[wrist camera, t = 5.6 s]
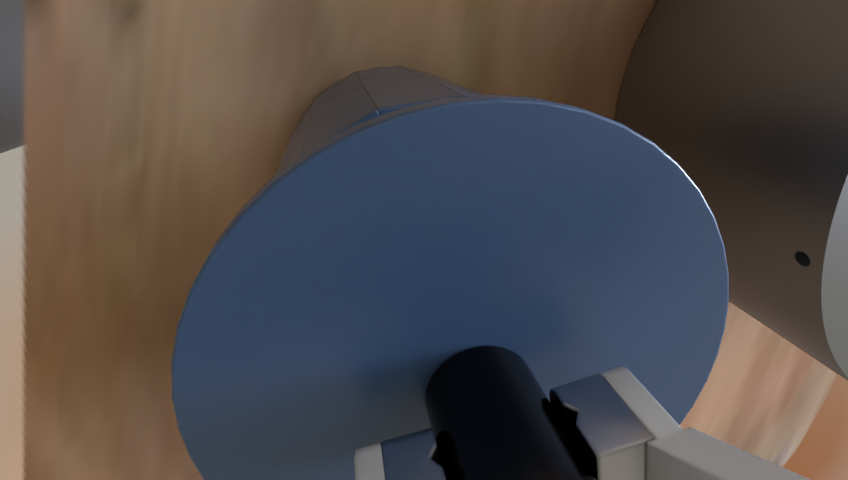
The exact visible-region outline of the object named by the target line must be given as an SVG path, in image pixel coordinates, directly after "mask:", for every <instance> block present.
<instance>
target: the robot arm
mask: <svg viewBox="0 0 848 480" xmlns="http://www.w3.org/2000/svg"><path fill="white" fill-rule="evenodd" d="M549 398H550V403H551V404H552V406H553V408H554V409H555V411H556V413H557V414H558V416H559V418H560V419H561V421H562V423H563V424H564V426H565V428H566V429H567V431H568V432H569V434H570V436H571V437H572V439H573V441H574V442H575V444H576V446H577V447H578V449H579V451H580V452H581V454H582V456H583V457H584V459H585V461H586V462H587V464H588V465H589V467H590V469H591V470H592V472H593V474H594V475H595V477H596V479H597V480H810V479H807V478H805V477H803V476H801V475H798V474H796V473H794V472H792V471H789V470H787V469H785V468H783V467H780V466H778V465H776V464H773V463H771V462H769V461H767V460H764V459H762V458H760V457H757V456H755V455H753V454H751V453H748V452H746V451H744V450H741V449H739V448H737V447H735V446H732V445H730V444H728V443H725V442H723V441H721V440H719V439H716V438H714V437H712V436H709V435H707V434H705V433H703V432H700V431H698V430H696V429H693V428H688V429H684V430H683V429H682V428H681V427H680V425H679V424H678V423H677V422H676V421H675V420H674V419H673V418H672V417H671V416H670V415H669V413H668V412H667V411H666V410H665V409H664V408H663V407H662V406H661V405H660V404H659V403H658V401H657V400H656V399H655V398H654V397H653V396H652V395H651V394H650V393H649V392H648V391H647V389H646V388H645V387H644V386H643V385H642V384H641V383H640V382H639V381H638V380H637V378H636V377H635V376H634V375H633V374H632V373H631V372H630V371H629V370H628V369H627V368H625V367H623V366H621V367H618V368H615V369H612V370H609V371H605V372H602V373H599V374H598V375H597V374H595V375H592V376H589V377H586V378H583V379H580V380H577V381H574V382H571V383H567V384H564V385H561V386H558V387H555V388H552V389H550V393H549ZM354 463H355V480H446V477H445V474H444V471H443V464H442V461H441V457H440V454H439V450H438V446H437V443H436V439H435V436H434V432H433V429H432V427H431V428H428V429H424V430H421V431H417V432H414V433H410V434H407V435H403V436H400V437H396V438H393V439H389V440H386V441H382V442H380V443H377V444H373V445H370V446H366V447H363V448H360V449H356V451H355V457H354Z"/></svg>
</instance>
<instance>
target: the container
mask: <svg viewBox="0 0 848 480" xmlns="http://www.w3.org/2000/svg"><path fill="white" fill-rule="evenodd" d="M616 121H617V122H619V123H622V124H623V125H625V126H627V127H629V128H630V129H632V130H634V131H635V132H637V133H639V134H640V135H642V136H644V137H645V138H647V139H649V140H651V141H652V142H654V143H655V144H656V145H657V146H658V147H659V148H661V149H662V150H663V151H664V152H665V153H666V154H668V155H669V156H670V157H671V158H672V159H673V160H675V161H676V162H677V163H678V164H679V165H680V166H681V168H682V169H683V170H684V171H685V172H686V174H687V175H688V176H689V177H690V179H691V180H692V181H693V182H694V183H695V185H696V186H697V187H698V188H699V190H700V191H701V193H702V195H703V197H704V199H705V201H706V202H707V204H708V206H709V208H710V210H711V211H712V213H713V215H714V217H715V220H716V223H717V226H718V229H719V232H720V235H721V237H722V240H723V243H724V248H725V254H726V261H727V267H728V273H729V302H731V303H732V304H734V305H735V306H737V307H738V308H740V309H741V310H743V311H744V312H746V313H747V314H749V315H750V316H752V317H753V318H755V319H756V320H758V321H759V322H761V323H762V324H764V325H765V326H767V327H768V328H770V329H771V330H773V331H774V332H776V333H777V334H779V335H780V336H782V337H783V338H785V339H786V340H788V341H789V342H791V343H792V344H794V345H795V346H797V347H798V348H800V349H801V350H803V351H804V352H806V353H807V354H809V355H810V356H812V357H813V358H815V359H816V360H818V361H819V362H821V363H822V364H824V365H825V366H827V367H828V368H830V369H831V370H833V371H834V372H836V373H837V374H839V375H840V376H842V377H843V378H845V379H846V380H848V0H658V1H657V3H656V4H655V6H654V8H653V10H652V12H651V13H650V15H649V17H648V19H647V21H646V23H645V25H644V27H643V29H642V31H641V34H640V36H639V38H638V41H637V43H636V45H635V48H634V50H633V53H632V56H631V58H630V61H629V64H628V67H627V70H626V73H625V77H624V80H623V84H622V88H621V92H620V97H619V101H618V107H617V113H616Z"/></svg>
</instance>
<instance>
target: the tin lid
mask: <svg viewBox="0 0 848 480" xmlns="http://www.w3.org/2000/svg"><path fill="white" fill-rule="evenodd" d="M728 302H729V273H728V267H727V261H726V254H725V248H724V243H723V240H722V237H721V235H720V232H719V229H718V226H717V223H716V220H715V217H714V215H713V213H712V211H711V210H710V208H709V206H708V204H707V202H706V201H705V199H704V197H703V195H702V193H701V191H700V190H699V188H698V187H697V186H696V185H695V183H694V182H693V181H692V180H691V179H690V177H689V176H688V175H687V174H686V172H685V171H684V170H683V169H682V168H681V166H680V165H679V164H678V163H677V162H676V161H675V160H673V159H672V158H671V157H670V156H669V155H668V154H666V153H665V152H664V151H663V150H662V149H661V148H659V147H658V146H657V145H656V144H655V143H654V142H652V141H651V140H649V139H647V138H645V137H644V136H642V135H640V134H639V133H637V132H635V131H634V130H632V129H630V128H629V127H627V126H625V125H623V124H622V123H619V122H617V121H614V120H612V119H609V118H606V117H604V116H601V115H599V114H596V113H593V112H591V111H588V110H585V109H582V108H579V107H575V106H572V105H567V104H562V103H557V102H553V101H548V100H543V99H538V98H534V97H521V96H504V95H479V96H467V97H455V98H444V99H440V100H435V101H431V102H426V103H422V104H418V105H413V106H409V107H404V108H400V109H397V110H394V111H391V112H389V113H386V114H383V115H381V116H378V117H375V118H373V119H370V120H367V121H365V122H362V123H359V124H357V125H354V126H352V127H350V128H349V129H347V130H345V131H343V132H341V133H339V134H337V135H336V136H334V137H332V138H330V139H328V140H326V141H324V142H323V143H321V144H319V145H317V146H315V147H313V148H312V149H310V150H309V151H308V152H306V153H305V154H304V155H302V156H301V157H299V158H298V159H297V160H295V161H294V162H293V163H291V164H290V165H288V166H287V167H286V168H284V169H283V170H282V171H280V172H279V173H277V174H276V175H275V176H274V177H273V178H272V179H271V180H270V181H269V182H268V183H267V184H265V185H264V186H263V187H262V188H261V189H260V190H259V191H258V192H257V193H256V194H255V195H254V196H253V197H252V198H251V199H250V200H249V201H248V202H247V203H246V204H245V205H244V206H243V207H242V208H241V210H240V211H239V212H238V213H237V215H236V216H235V217H234V219H233V220H232V221H231V222H230V224H229V225H228V226H227V228H226V229H225V230H224V232H223V233H222V234H221V235H220V237H219V238H218V239H217V241H216V243H215V245H214V246H213V248H212V250H211V252H210V254H209V255H208V257H207V259H206V261H205V263H204V264H203V266H202V268H201V270H200V272H199V274H198V275H197V277H196V279H195V281H194V283H193V284H192V286H191V288H190V291H189V294H188V297H187V299H186V302H185V305H184V308H183V311H182V314H181V316H180V319H179V322H178V325H177V331H176V336H175V342H174V348H173V354H172V360H171V375H172V399H173V404H174V409H175V414H176V419H177V424H178V429H179V431H180V434H181V436H182V439H183V441H184V444H185V446H186V449H187V451H188V454H189V456H190V458H191V460H192V461H193V463H194V465H195V466H196V468H197V470H198V471H199V473H200V474H201V476H202V478H203V479H204V480H355V463H354V457H355V451H356V449H360V448H363V447H366V446H370V445H373V444H377V443H380V442H382V441H386V440H389V439H393V438H396V437H400V436H403V435H407V434H410V433H414V432H417V431H421V430H424V429H428V428H431V427H432V429H433V432H434V436H435V439H436V443H437V446H438V450H439V454H440V457H441V461H442V464H443V471H444V474H445V477H446V480H597V479H596V477H595V475H594V474H593V472H592V470H591V469H590V467H589V465H588V464H587V462H586V461H585V459H584V457H583V456H582V454H581V452H580V451H579V449H578V447H577V446H576V444H575V442H574V441H573V439H572V437H571V436H570V434H569V432H568V431H567V429H566V428H565V426H564V424H563V423H562V421H561V419H560V418H559V416H558V414H557V413H556V411H555V409H554V408H553V406H552V404H551V403H550V398H549V393H550V389H552V388H555V387H558V386H561V385H564V384H567V383H571V382H574V381H577V380H580V379H583V378H586V377H589V376H592V375H595V374H597V375H598V374H599V373H602V372H605V371H609V370H612V369H615V368H618V367H621V366H623V367H625V368H627V369H628V370H629V371H630V372H631V373H632V374H633V375H634V376H635V377H636V378H637V380H638V381H639V382H640V383H641V384H642V385H643V386H644V387H645V388H646V389H647V391H648V392H649V393H650V394H651V395H652V396H653V397H654V398H655V399H656V400H657V401H658V403H659V404H660V405H661V406H662V407H663V408H664V409H665V410H666V411H667V412H668V413H669V415H670V416H671V417H672V418H673V419H674V420H675V421H676V422H677V423H678V424H679V425H680V424H681V423H682V421H683V420H684V418H685V417H686V415H687V414H688V412H689V411H690V409H691V408H692V407H693V405H694V403H695V401H696V400H697V398H698V396H699V394H700V392H701V390H702V389H703V387H704V385H705V383H706V381H707V379H708V376H709V374H710V372H711V369H712V367H713V364H714V362H715V360H716V357H717V354H718V351H719V347H720V344H721V340H722V336H723V333H724V329H725V323H726V316H727V309H728Z"/></svg>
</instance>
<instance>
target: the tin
mask: <svg viewBox="0 0 848 480" xmlns="http://www.w3.org/2000/svg"><path fill="white" fill-rule="evenodd" d="M479 95H484V94H482V93H479V92H477V91H474V90H471V89H469V88H466V87H464V86H461V85H458V84H456V83H453V82H451V81H448V80H445V79H443V78H440V77H437V76H434V75H430V74H427V73H423V72H420V71H417V70H413V69H409V68H406V67H402V66H391V67H381V68H373V69H368V70H363V71H356V72H353V73H352V74H350V75H349V76H347V77H346V78H344V79H342V80H340V81H338V82H336V83H335V84H333V85H332V86H331V87H329V88H328V89H327V90H325V91H323V92H322V93H320V94H319V95H318V96H317V97H316V98H315V100H314V101H313V103H312V105H311V106H310V108H309V109H308V110H307V112H306V113H305V115H304V117H303V118H302V120H301V121H300V123H299V124H298V126H297V127H296V129H295V130H294V133H293V135H292V137H291V140H290V142H289V144H288V147H287V149H286V152H285V154H284V156H283V159H282V161H281V163H280V166H279V168H278V170H277V173H279V172H280V171H282V170H283V169H284V168H286V167H287V166H288V165H290V164H291V163H293V162H294V161H295V160H297V159H298V158H299V157H301V156H302V155H304V154H305V153H306V152H308V151H309V150H310V149H312V148H313V147H315V146H317V145H319V144H321V143H323V142H324V141H326V140H328V139H330V138H332V137H334V136H336V135H337V134H339V133H341V132H343V131H345V130H347V129H349V128H350V127H352V126H354V125H357V124H359V123H362V122H365V121H367V120H370V119H373V118H375V117H378V116H381V115H383V114H386V113H389V112H391V111H394V110H397V109H400V108H404V107H409V106H413V105H418V104H422V103H426V102H431V101H435V100H440V99H444V98H455V97H467V96H479ZM277 173H276V174H277Z"/></svg>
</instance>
